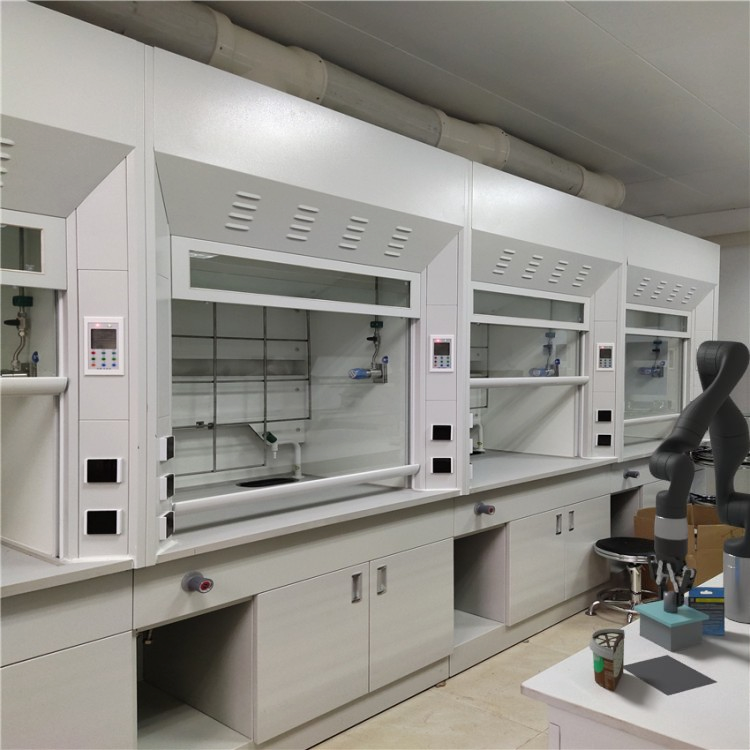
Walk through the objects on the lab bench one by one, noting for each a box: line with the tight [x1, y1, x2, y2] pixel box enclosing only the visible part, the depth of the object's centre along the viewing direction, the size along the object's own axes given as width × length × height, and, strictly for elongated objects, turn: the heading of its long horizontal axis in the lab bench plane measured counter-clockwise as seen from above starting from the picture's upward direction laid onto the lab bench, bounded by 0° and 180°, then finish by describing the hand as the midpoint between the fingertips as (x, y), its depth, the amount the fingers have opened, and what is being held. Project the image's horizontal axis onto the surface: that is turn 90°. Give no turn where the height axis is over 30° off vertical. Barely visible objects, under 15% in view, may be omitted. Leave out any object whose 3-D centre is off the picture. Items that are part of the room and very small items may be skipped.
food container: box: [588, 628, 626, 692], centre depth 150 cm, size 12×6×10 cm, turn 149°
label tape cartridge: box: [684, 586, 726, 636], centre depth 175 cm, size 9×4×12 cm, turn 84°
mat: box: [623, 654, 718, 696], centre depth 152 cm, size 14×14×1 cm
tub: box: [639, 612, 703, 653], centre depth 169 cm, size 10×10×7 cm
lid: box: [633, 590, 709, 627], centre depth 169 cm, size 12×12×5 cm
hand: (670, 602), depth 169 cm, fingers open, 4 cm apart
